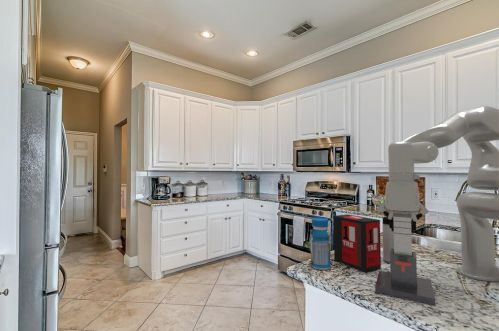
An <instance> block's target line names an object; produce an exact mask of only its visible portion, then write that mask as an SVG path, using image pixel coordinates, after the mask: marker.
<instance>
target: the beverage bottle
mask: <svg viewBox="0 0 499 331" xmlns="http://www.w3.org/2000/svg"><path fill="white" fill-rule="evenodd" d="M311 226H312V227H313V228H312V229H311V231H310V238H309V243H310V266H311V268H313V269H315V270H320V271H326V270H327V271H328V270H330V269H331V267H332V264H331V244H332V243H331V242H332V240H331V239H330V238H331V233H330V231H329V229H328V227H329V219H328V218H326V217H312V218H311Z"/></svg>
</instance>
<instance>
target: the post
mask: <svg viewBox="0 0 499 331" xmlns="http://www.w3.org/2000/svg"><path fill="white" fill-rule="evenodd" d="M393 217H394V220H393V222H394V254H397V255H404V256H411V257H412V251H413V248H412V247H413V245H412V236H413V235H412V234H413V233H411V220H412V216H411V213H410V212H399V211H394V213H393Z"/></svg>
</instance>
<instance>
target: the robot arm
mask: <svg viewBox="0 0 499 331" xmlns="http://www.w3.org/2000/svg"><path fill="white" fill-rule="evenodd" d="M461 138H463V139H464V140H465V143H466V144H467V146H468V147H469V149H470V152H471V158H470V159H471V160H470V165H469V168H468V173H467V179H466V182H467V185H468V186H469V187H470V188H471V189H474V190H479V191H466V192H463V193H461V194H459V195H458V197H457V199H456V207H457V210H458V214H459V221H460V236H461V244H460V245H461V266H458V267H457V273H459V274H460V275H462V276H464V277H466V278H469V279H474V280H477V281H483V282H490V283H491V282H493V283H495V281H497V282H499V267H498V266H497V265H496V250H495V249H496V248H495V243H496V242H495V230H494V227H493V225H492V223H491V222H490V221H489V220H496V221H499V149H498V148H497V147H496V146H495V145H494V144H492V143H491V141H492V142H495V141H499V109H498V108H496V107H493V106H488V105H487V106H486V105H482V106H478V107H473V108H468V109H465V110H464V109H463V110H459V111H457V112H454V113H453V114H451V115H450V116H448V117H447V118H445V119H444V120H442V121H440V122H439V123H437V124H436V125H434V126H432V127H430V128H428V129H425V130H423V131H421V132H419V133H416V134H414V135H411V136H409V137H407V138H405V139H404V140H403V141H396V142H395V141H394V142H391V143H389V144H388V148H387V153H388V181H387V182H386V184H385V193H384V196H385V197H384V201H383V202H382V203H381V204H380V205H379V206H378V207H377V210H378V211H379V212H381V213H382V215H384V217H387V218H388V219H389V228H392V231H394V222H393V220H394V219H393V213H394V212H407V213H411V233H412V234H415V231H416V232H417V221H419V219H421V218H422V217H423V216H425V215H427V214H428V213H429V210H428V209H427V207H426V206H425V205H424V204H422V203H421V201H420V189H419V185H418V182H417V181H416V180H419V179H420V174H416V173H415V164H416V165H417V164H418V165H419V164H429V163H432V162H434V161H435V160H437V158H438V156H439V154H440V153H439V149H441V148H445V147H448V146H450V145H453V144H454V143H456V142H457V141H459V140H460V139H461ZM480 190H481V191H480ZM483 191H484V192H483ZM485 191H494V192H495V193H494V192H485ZM496 192H498V193H496ZM420 210H421V211H420ZM388 211H389V212H388ZM416 213H417V214H416Z"/></svg>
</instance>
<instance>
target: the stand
mask: <svg viewBox="0 0 499 331" xmlns="http://www.w3.org/2000/svg"><path fill="white" fill-rule="evenodd" d="M389 265H390V267H389V268H390V270H389V271H384V270H378V275H377V278H376V281H375V285H374V293H375V294H380V295H384V296H389V297H394V298H398V299H402V300H408V301H413V302H417V303H420V304H421V303H422V304H425V305H431V306H436V296H435V292H434V287H433V282H432V279H429V278H424V277H418V269H417V267H418V265H417V252H416V251H413V250H412V257H411V256H404V255H397V254H394V249H391V252H390V264H389Z"/></svg>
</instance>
